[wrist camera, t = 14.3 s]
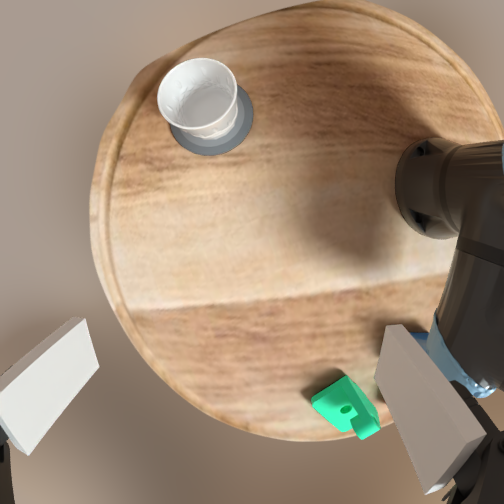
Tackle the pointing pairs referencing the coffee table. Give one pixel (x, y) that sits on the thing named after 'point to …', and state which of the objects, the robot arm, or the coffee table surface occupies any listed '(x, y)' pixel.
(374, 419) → the camera mount
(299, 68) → the coffee table surface
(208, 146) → the coaster
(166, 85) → the white cup
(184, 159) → the coffee table surface
